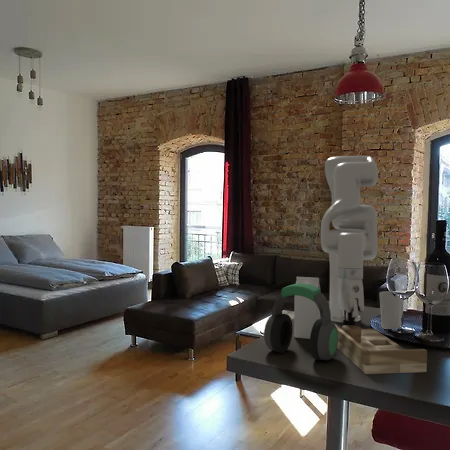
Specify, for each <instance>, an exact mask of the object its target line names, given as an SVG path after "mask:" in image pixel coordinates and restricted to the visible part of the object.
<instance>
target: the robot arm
mask: <svg viewBox="0 0 450 450" xmlns="http://www.w3.org/2000/svg"><path fill="white" fill-rule="evenodd" d="M324 172H325V173H324V175H325V177H326V181H327V184H328V187H329V190H330V193H331V205H330V207H329V208H328V209H327V210H326V211H325V213H324V214H323V217H322V218H321V221H320V222H321V223H320V224H321V225H320V244H321V245H320V247H321V249H322V251H323V252H325V253H327V254H328V258H329V260H328V261H329V308H330V314H331V322H333V323H334V322H335V323H342V326H344V325H355V326H356V323H357V322H359V321H361V315H359V312H360V313H364V310H365V296H364V284H363V280H364V261H371V260H374V259H375V258H376V257H377V256H378V249H379V248H378V247H379V243H378V218H377V217H378V216H377V211H376V208H375V207H374V206H373V205H370V204H361V187H375V186H376V184H377V183H378V179H379V178H378V177H379V171H378V166H377V163H376V161H375V159H374V158H373V156H371V155H340V156H339V155H337V156H331V157H329V158H327V160H326V161H325V164H324ZM331 223H332V227H333V228H334V229H330V225H331Z"/></svg>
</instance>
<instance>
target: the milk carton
mask: <svg viewBox="0 0 450 450" xmlns="http://www.w3.org/2000/svg"><path fill="white" fill-rule="evenodd" d="M298 283H303V284H310V285H313V286H315V287H317V288H319V289H320V290H321V286H320V278H319V277H309V276H307V277H305V276H296V281H295V284H298ZM293 298H294V303H293V304H294V308H293V309H294V313H293V318H294V319H293V324H294V325H293V326H294V327H293V331H294V332H293V333H294V334H293V336H294V338H297V339H306V340H310V335H311V330H312V327H313V325H314V323H315V321H316V320H318V319H321V316H320V311H319V309H318V307H317V305H316V303H315V302H314V301H312V300H310V299H308V298H306V297H303V296H298V295H294V297H293Z"/></svg>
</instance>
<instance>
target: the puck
mask: <svg viewBox="0 0 450 450" xmlns="http://www.w3.org/2000/svg"><path fill="white" fill-rule="evenodd" d="M341 329H342V330H343V331H344V332H345V333H347V334H348V335H349V336H350V337H352V338H353V339H354V340H356V341H357V342H358V343H361V329H362V327H361V326H359V325H356V324H355V325H344V326H343V325H342V326H341Z"/></svg>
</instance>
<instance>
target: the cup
mask: <svg viewBox="0 0 450 450" xmlns="http://www.w3.org/2000/svg"><path fill="white" fill-rule="evenodd" d="M391 292H392V291H391V290H390V291H380V292H379V295H378V296H379V306H380V323H381V324H380V326H381V327H382V328H384V329H396V328H399V327H400V326H401V327H402V321H401V318H402V319H403V311H404V310H403V308H404V300H405V299H404V300H403V299H401V298H400V297H399V296H396V297H395V296H394V295H393V294H392V293H391ZM381 327H380V328H381ZM382 328H381V329H382ZM384 329H383V330H384Z"/></svg>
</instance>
